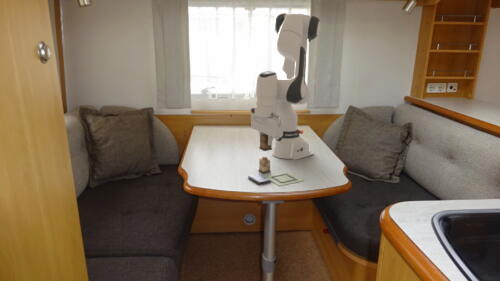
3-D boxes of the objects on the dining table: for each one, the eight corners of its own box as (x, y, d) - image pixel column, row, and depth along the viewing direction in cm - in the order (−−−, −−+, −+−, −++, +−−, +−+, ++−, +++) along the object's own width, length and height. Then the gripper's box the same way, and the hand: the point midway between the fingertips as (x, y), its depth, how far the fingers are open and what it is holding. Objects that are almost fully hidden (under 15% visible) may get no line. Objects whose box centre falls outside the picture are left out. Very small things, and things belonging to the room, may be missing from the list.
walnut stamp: (267, 147, 159) (267, 131, 157) (272, 149, 156) (272, 133, 154) (259, 148, 157) (259, 132, 155) (264, 151, 154) (264, 135, 152)
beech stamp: (265, 169, 173) (266, 155, 171) (270, 172, 170) (270, 157, 168) (258, 171, 171) (258, 156, 169) (263, 173, 168) (263, 159, 166)
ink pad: (259, 176, 165) (259, 173, 164) (270, 182, 157) (270, 180, 157) (248, 178, 162) (248, 175, 161) (258, 185, 154) (258, 182, 154)
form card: (287, 172, 170) (287, 171, 170) (303, 180, 160) (304, 179, 160) (264, 177, 163) (264, 176, 163) (279, 186, 153) (279, 185, 153)
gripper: (287, 115, 145) (286, 148, 149) (260, 106, 162) (260, 136, 166) (273, 116, 142) (273, 150, 146) (248, 108, 159) (248, 138, 163)
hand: (266, 143), depth 156 cm, fingers closed on walnut stamp, 4 cm apart
